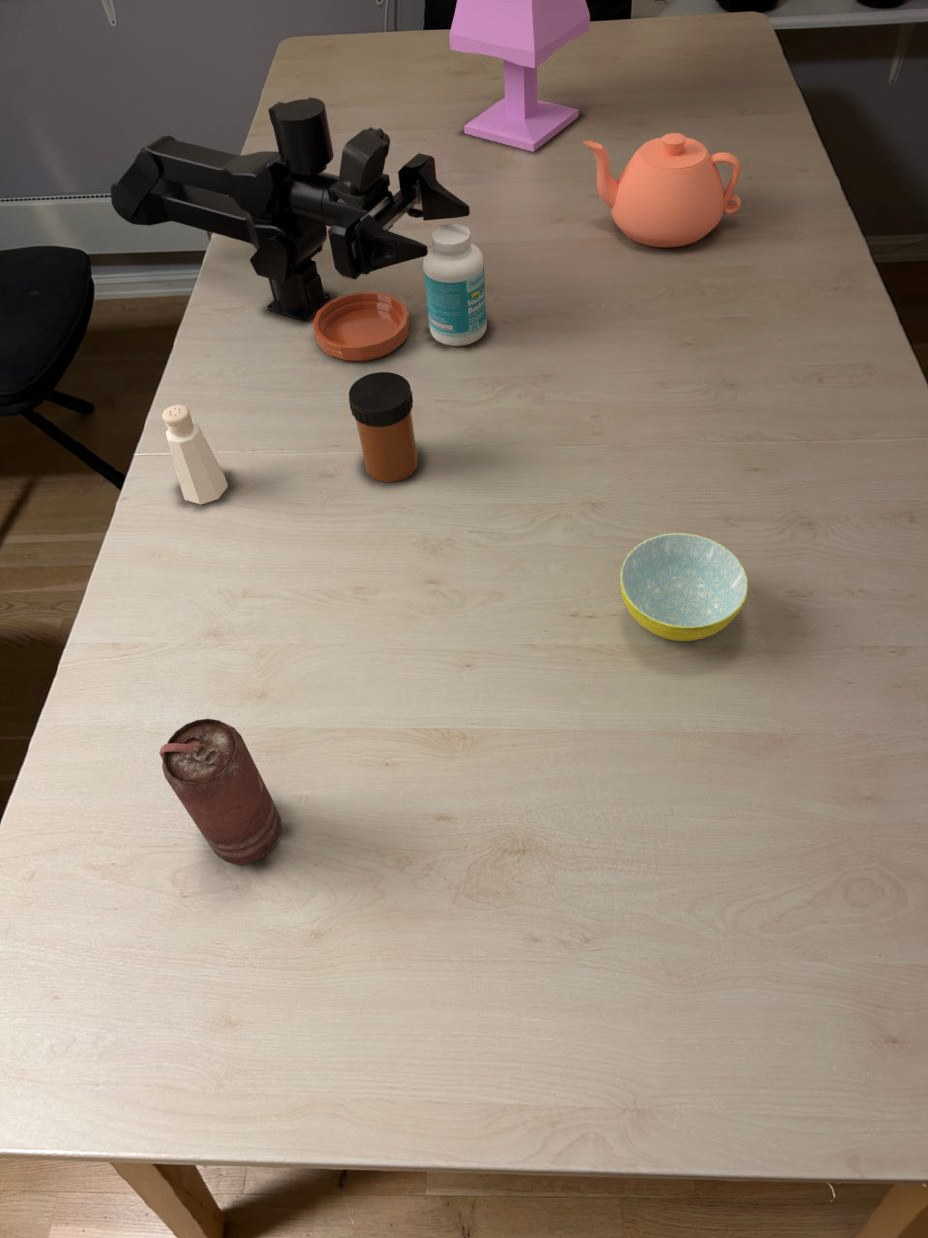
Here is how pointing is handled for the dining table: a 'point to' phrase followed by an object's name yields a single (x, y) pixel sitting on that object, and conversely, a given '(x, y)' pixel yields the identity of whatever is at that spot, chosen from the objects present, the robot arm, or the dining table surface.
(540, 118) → the pink table lamp
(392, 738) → the dining table surface
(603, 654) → the dining table surface
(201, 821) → the can
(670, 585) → the bowl
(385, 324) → the dish
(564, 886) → the dining table surface
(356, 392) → the lid
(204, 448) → the pepper shaker
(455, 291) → the pill bottle
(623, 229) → the teapot
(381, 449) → the jam jar
